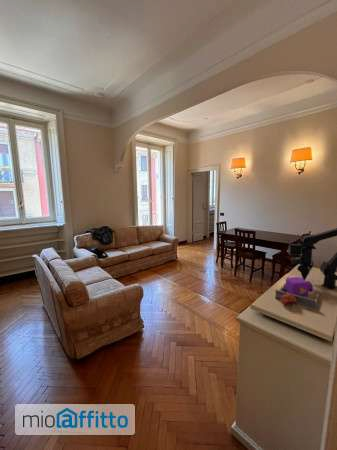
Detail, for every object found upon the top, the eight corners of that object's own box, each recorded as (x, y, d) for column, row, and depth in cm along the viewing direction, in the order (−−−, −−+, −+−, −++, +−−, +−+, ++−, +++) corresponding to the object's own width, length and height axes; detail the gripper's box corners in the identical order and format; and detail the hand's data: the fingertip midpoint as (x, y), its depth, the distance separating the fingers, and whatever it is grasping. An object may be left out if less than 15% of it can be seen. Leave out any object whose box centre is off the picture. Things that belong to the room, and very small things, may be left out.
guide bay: (284, 286, 134) (284, 279, 133) (320, 295, 121) (320, 287, 120) (275, 298, 120) (275, 290, 119) (314, 310, 107) (315, 301, 106)
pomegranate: (298, 312, 110) (292, 294, 116) (300, 306, 105) (294, 288, 111) (283, 312, 112) (278, 294, 118) (284, 306, 107) (279, 288, 113)
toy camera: (316, 296, 120) (317, 280, 119) (296, 300, 118) (297, 283, 116) (301, 288, 131) (301, 273, 129) (282, 291, 128) (283, 276, 127)
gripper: (295, 249, 145) (294, 270, 147) (288, 256, 131) (287, 279, 134) (314, 252, 137) (313, 274, 140) (309, 259, 124) (308, 283, 126)
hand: (305, 277), depth 135 cm, fingers open, 9 cm apart
